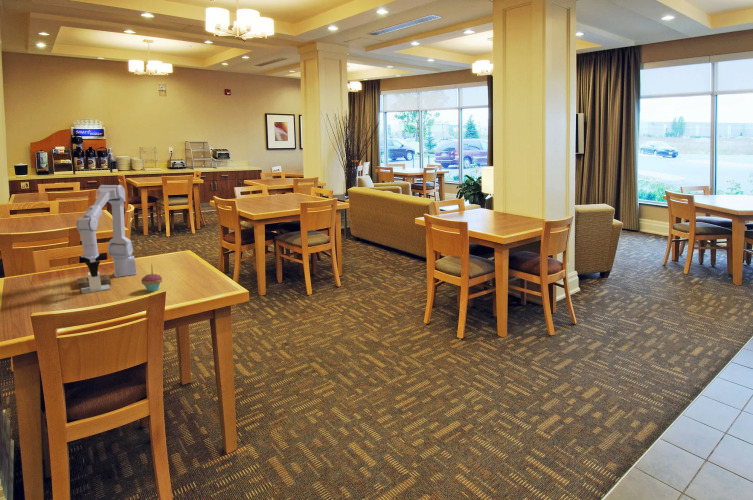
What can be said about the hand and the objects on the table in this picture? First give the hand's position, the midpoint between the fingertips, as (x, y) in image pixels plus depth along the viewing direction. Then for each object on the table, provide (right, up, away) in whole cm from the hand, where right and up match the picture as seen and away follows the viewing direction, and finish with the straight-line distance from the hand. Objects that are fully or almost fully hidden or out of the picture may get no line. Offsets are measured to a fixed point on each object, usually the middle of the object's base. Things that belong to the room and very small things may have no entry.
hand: (93, 274), depth 227 cm
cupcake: (+26, -7, +1) cm, 27 cm away
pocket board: (-5, -5, +9) cm, 12 cm away
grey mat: (0, -7, +2) cm, 7 cm away
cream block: (0, -6, +1) cm, 6 cm away
